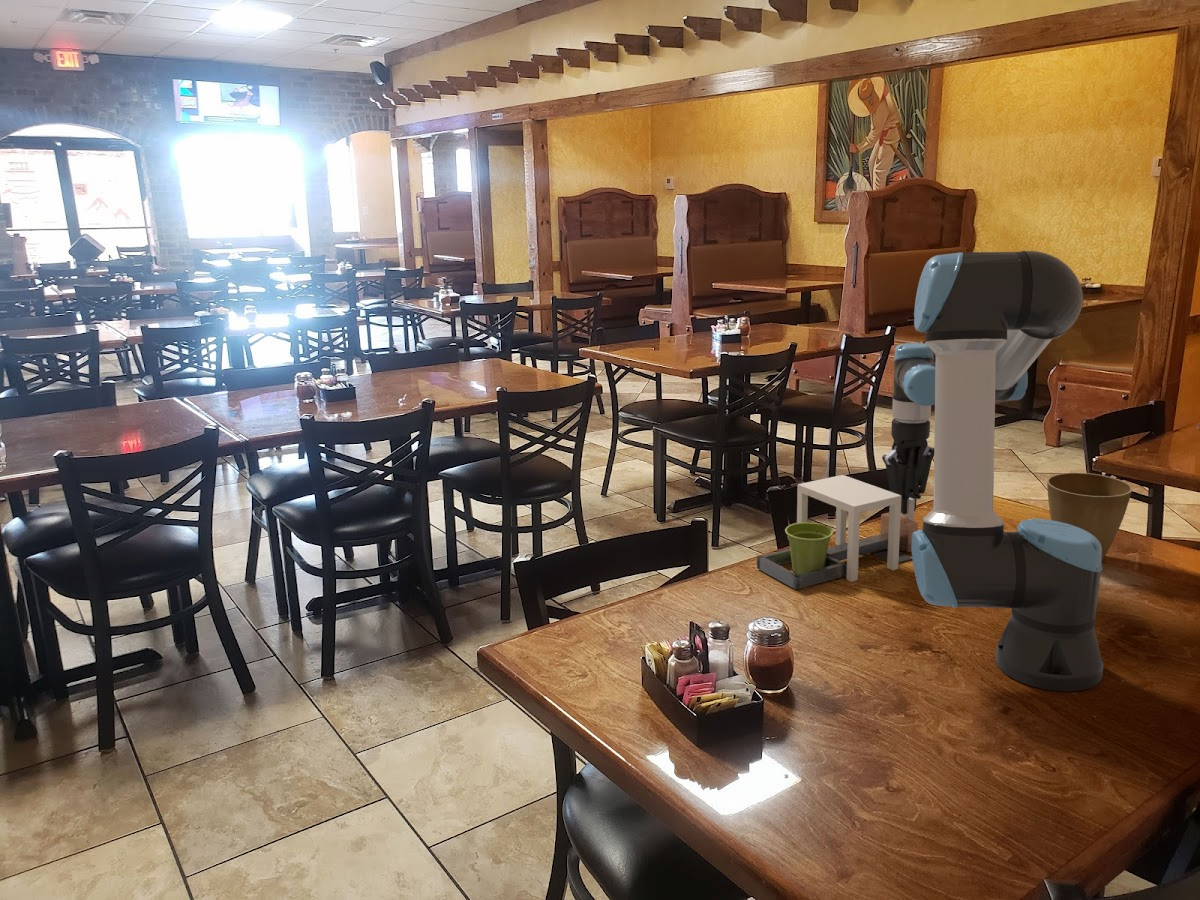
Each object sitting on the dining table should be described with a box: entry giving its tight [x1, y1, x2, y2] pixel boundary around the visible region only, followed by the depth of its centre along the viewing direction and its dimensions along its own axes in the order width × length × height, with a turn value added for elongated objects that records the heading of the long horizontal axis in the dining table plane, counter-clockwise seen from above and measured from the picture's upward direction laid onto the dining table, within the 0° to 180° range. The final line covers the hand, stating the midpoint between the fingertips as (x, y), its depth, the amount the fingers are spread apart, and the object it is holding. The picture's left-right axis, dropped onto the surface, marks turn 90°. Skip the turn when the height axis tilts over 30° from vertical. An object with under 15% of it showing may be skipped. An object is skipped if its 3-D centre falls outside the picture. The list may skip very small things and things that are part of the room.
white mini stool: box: [796, 474, 913, 583], centre depth 188 cm, size 17×18×16 cm
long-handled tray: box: [756, 512, 919, 590], centre depth 187 cm, size 12×33×6 cm, turn 117°
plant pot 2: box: [1046, 472, 1133, 561], centre depth 183 cm, size 15×15×16 cm
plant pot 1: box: [784, 522, 834, 574], centre depth 184 cm, size 9×9×9 cm
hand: (906, 527), depth 194 cm, fingers closed
